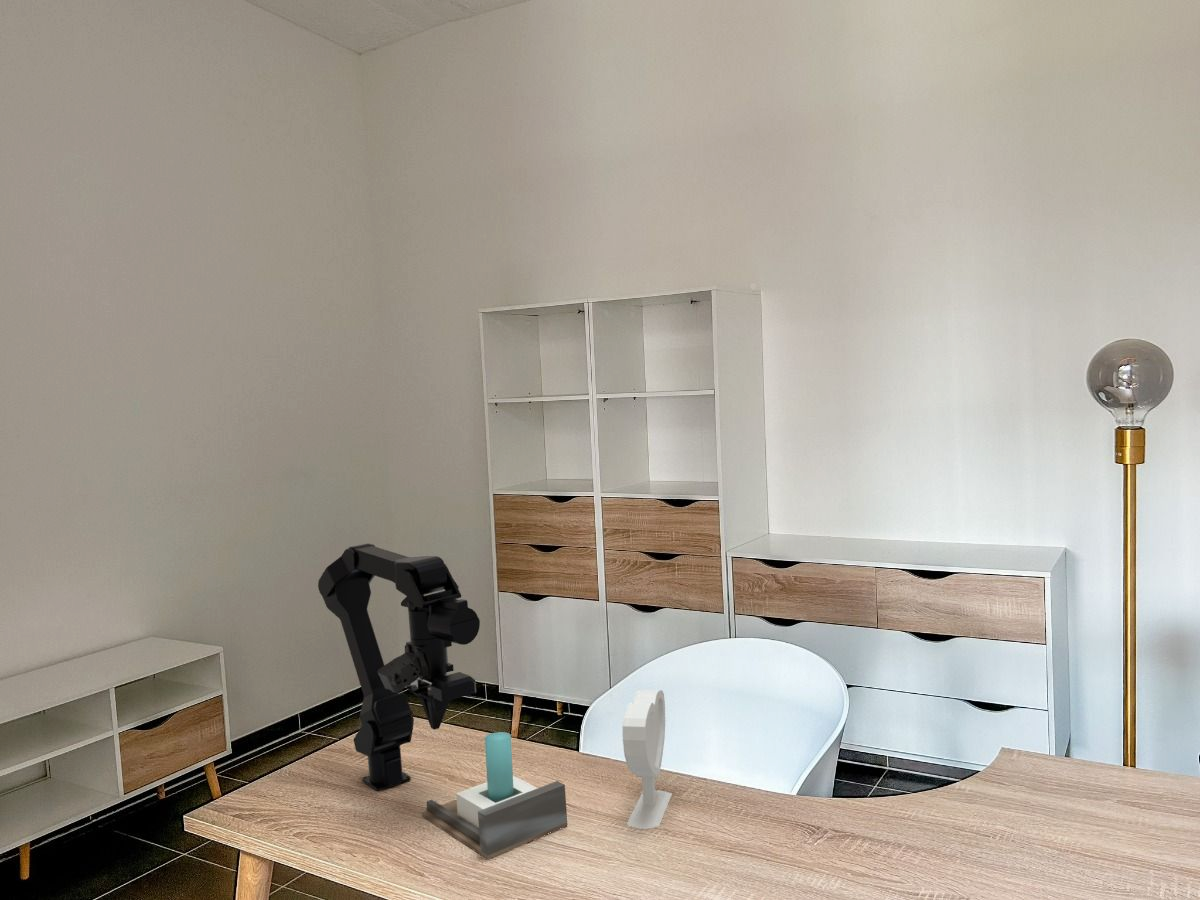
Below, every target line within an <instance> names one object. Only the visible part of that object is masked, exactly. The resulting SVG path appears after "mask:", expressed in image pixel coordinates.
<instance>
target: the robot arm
mask: <svg viewBox="0 0 1200 900" xmlns="http://www.w3.org/2000/svg"><path fill="white" fill-rule="evenodd" d="M375 576H376V577H378V578H381V579H384V580H387V581H390V582H392V583H393V584H394V586H395V589H396V590H397V591H398V592H399V593H401V594H403V595H404V596H405V597H404V599H402V600H401V602H400V606H401V607H403V608H407V610H408V611H407V613H408V625H409V626H408V627H409V635H410V636H409V638H410V641H407V642H405V645H404V653H403V654H401V655H399V656H397V657H395V658H393V659H392V660H390V661H389V662H388V663H386V664H385V662H384V659H383V655H382V652H381V648H380V647H379V643H378V640H377V637H376V633H375V631H374V626H373V624H372V621H371V617H370V615H369V611H368V607H369V603H370V601H371V600H370V599H371V595H372V589H371V586H370V584H371V582H372V580H373V579H374V578H375ZM317 588H318V591H319V594H320V595H321V596H322V599H323V602H324V604H325V606H326V608H327V610H329V611H330V612H331V613H332V614H333V615H334V616H336V617H337V618H338V619H339V620H340V624H341V627H342V630H343V632H344V633H343V634H344V636H345V640H346V643H347V646H348V648H349V649H348V650H349V653H350V655H351V658H352V662H353V665H354V668H355V671H356V675H357V678H358V681H359V685H360V688H361V691H362V694H363V701H362V705H361V709H360V713H359V718H360V722H361V725H360V727H359V730H358V731H357V733H356V735H355V736H354V737H353V739H352V740H353V744H354V745H353V746H354V747H355V751H356V753H360V754H361V755H364V756H367V763H368V764H367V765H368V775H365V776H363V777H361V781H362V782H363V783H364V784H366V785H368V786H369V787H371V788H373V790H376V791H382V790H385V789H387V788H390V787H394V786H396V785H400V784H402V782H403V783H406V782H409V781H410V780H411V776H410V775H409V774H407V773H405V772H404V771H403V763H402V752H401V746H402V745H405V744H408V743H411V741H412V735H413V732H414V731H413V730H414V724H415V723H414V722H415V721H414V720H415V718H414V716H413V715H414V713H413V711H412V709H411V707H410V704H409V699H408V696H407V694H406V693H405V692H401V691H403V690H404V689H405V688H406V689H407V690H408V691H409V692H411V693H413V694H414V695H415V696H417V697H418V699H419V700H420V703H421V705H422V708H423V711H424V713H425V716H426V718H427V721H428V724H429V726H430V729H432V730H437V729H440V727H441V725H442V722H443V719H444V717H445V714H446V711H447V710H448V706H450V705H449V704H450V702H451V701H453V700H456V699H460V698H464V697H467V696H470V695H474V694H476V693H477V685H476V679H474V678H473V677H472V676H470V675H468V674H465V673H463V672H461V671H460V672H459V671H457V672H454V673H450V674H449V672H453V671H454V664H452V663H450V662H449V659H448V648H449V647H452V646H453V643H454V644H457V645H464V646H465V645H468V644H471V643H473V641H474V640H475V639H476V637H477V636H478V633H479V631H480V626H481V625H480V624H481V623H480V622H481V621H480V618H479V616H478V614H477V613H476V611H475V610H474V609H472V608H470V607H469V606H468V604H469V603H468V600H467V599H461V598H462V594H461V592H460V590H459V588H460V586H459V585H458V584H457V582H456V581H455V579H454V578H453V576H452V574H451V572H450V569H449V568H448V566H447V564H446V563H445V561H444V560H443V559H442V558H441V557H440V556H437V555H422V556H407V555H404V554H403V555H402V554H401V553H397V552H393V551H390V550H387V549H384V548H380V547H378V546H376V545H375V544H373V543H362V544H358V545H353V546H349V547H348V548H346V549H345V550H344V551H343V553H342V554H341V556H339V557H338V558H337V559H335V560H334V561H333V562H332V563H330V564H329V565H328V566H327V567H326V568H325V569H324V571H323V572H322V573H321V576H320V577H319V579H318V582H317ZM405 781H406V782H405ZM399 783H400V784H399Z"/></svg>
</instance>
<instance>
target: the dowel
mask: <svg viewBox="0 0 1200 900" xmlns="http://www.w3.org/2000/svg"><path fill="white" fill-rule="evenodd" d="M484 741H485V742H484V744H485V746H484V747H485V748H484V749H485V762H486V764H485V765H486V782H487V787H488V799H490V800H491V801H493V802H495V803H497V802H499V801H502V800H505V799H507V798H510V797H512V796H514V787H513V776H514V773H513V771H514V770H513V754H512V753H513V749H512V736H511V734H510V733H509V732H505V731H498V732H491V733H488V734H487V735H485V736H484Z"/></svg>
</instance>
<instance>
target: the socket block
mask: <svg viewBox="0 0 1200 900" xmlns="http://www.w3.org/2000/svg"><path fill="white" fill-rule="evenodd" d="M513 787H514V796H512V797H510V798H507V799H505V800H502V801H499V802H497V803H495V802H493V801H491V800H490V799H488V787H487V781H486V782H484V783H480V784H478V785H475V786H472V787H469V788H466V789H465V790H461V791H459V792H456V793H455V796H456V798H455V800H457V812H458V816H459V817H460V818H462V819H464V820H465V821H467V822H468V823H470V824H472V825H473V826H475V827H476V828H478V829H479V822H478V811H480V810H483V809H485V808H488V807H490V806H493V805H496V804H498V803H501V802H503V801H506V800H509V799H511V798H514V797H516V796H519V795H522V794H524V793H527V792H529V791H532V790H535V789H537V788H538V787H536V786H535V785H532V784H531V783H528V782H527V781H525V780H522V779H520V777H517V776H515V775H513Z"/></svg>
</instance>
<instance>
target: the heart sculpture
mask: <svg viewBox="0 0 1200 900" xmlns="http://www.w3.org/2000/svg"><path fill="white" fill-rule="evenodd" d="M665 702H666V701H665V693H664V691H663V690H660V689H658V690H657V689H638V690H636V692H635V694H634V698H633V702H631V701H630V702H629V703H628V705H627V707H626V709H625V713H624V716H623V720H622V727H621V728H622V744H623V753H624V758H625V762H626V763H625V764H626V766H627V768H628V770H629V771H630V772H631V773H632V774H633V775H635V776H636V777H637V778H641V784H642V792H641V794H640V796H639V798H638V801H637V803H636V804H635V806H634V808H633V811H632V813H631V814H630V817H629V818H628V821H627V823H626V825H627V824H628V825H627V826H629V827H631V826H632V828H634V829H639V828H640V830H644V829H645V830H647V829H653V828H659V827H660V824H661V822H662V820H663V817H664V814H665V812H666V810H667V807H668V804H669V803H670V800H671V798H672V795H673V793H672V792H668V791H665V790H660V789H657V790H656V779H659V778H660V775H661V767H662V760H663V756H664V745H665V737H666V736H665V735H666V734H665V733H666V703H665ZM634 826H635V827H634Z"/></svg>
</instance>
